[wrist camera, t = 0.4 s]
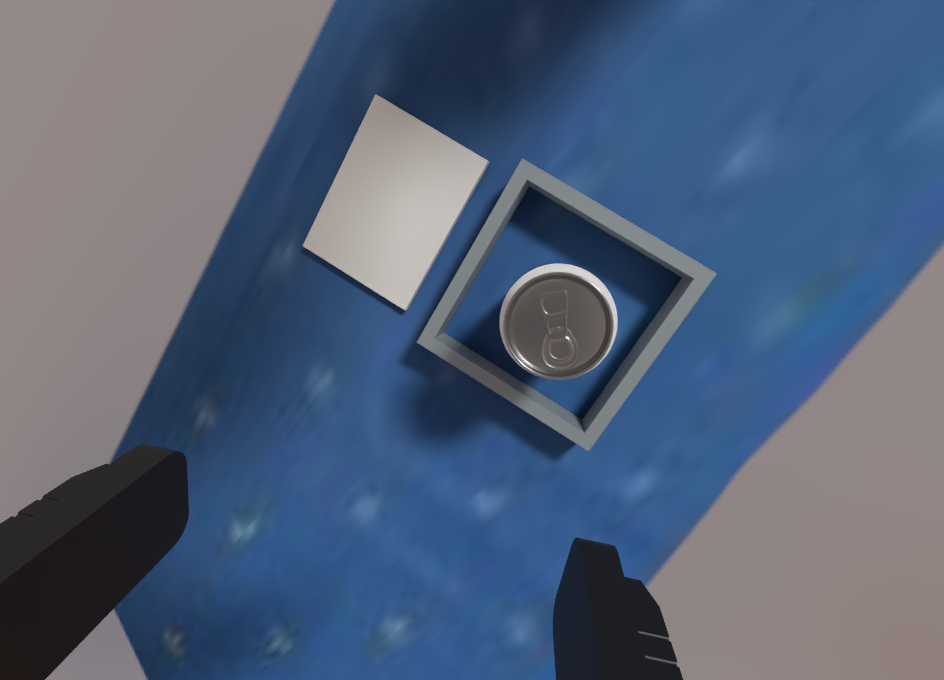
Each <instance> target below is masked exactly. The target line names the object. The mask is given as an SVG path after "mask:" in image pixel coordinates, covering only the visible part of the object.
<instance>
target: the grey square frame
mask: <svg viewBox="0 0 944 680" xmlns="http://www.w3.org/2000/svg"><path fill="white" fill-rule="evenodd" d="M529 187H531V188H533V189H534V190H536V191H538V192H539V193H541V194H543V195H544V196H546V197H548V198H549V199H551V200H553V201H554V202H556V203H558V204H559V205H561V206H563V207H565V208H566V209H568V210H570V211H571V212H573V213H575V214H576V215H578V216H580V217H581V218H583V219H585V220H586V221H588V222H590V223H591V224H593V225H595V226H596V227H598V228H600V229H601V230H603V231H605V232H607V233H608V234H610V235H612V236H613V237H615V238H617V239H618V240H620V241H622V242H623V243H625V244H627V245H628V246H630V247H632V248H633V249H635V250H637V251H638V252H640V253H642V254H643V255H645V256H647V257H648V258H650V259H652V260H654V261H655V262H657V263H659V264H660V265H662V266H664V267H665V268H667V269H669V270H670V271H672V272H674V273H675V274H677V275H679V276H680V277H682V279H681V280H680V281H679V283H678V284H677V286H676V287H675V288H674V290H673V291H672V293H671V294H670V296H669V297H668V298H667V300H666V301H665V303H664V304H663V306H662V307H661V308H660V310H659V311H658V313H657V314H656V315H655V317H654V318H653V320H652V321H651V323H650V324H649V325H648V327H647V328H646V330H645V331H644V333H643V334H642V335H641V337H640V338H639V340H638V341H637V342H636V344H635V345H634V347H633V348H632V350H631V351H630V352H629V354H628V355H627V357H626V358H625V360H624V361H623V362H622V364H621V365H620V367H619V368H618V370H617V371H616V372H615V374H614V375H613V377H612V378H611V379H610V381H609V382H608V384H607V385H606V387H605V388H604V389H603V391H602V392H601V394H600V395H599V397H598V398H597V399H596V401H595V402H594V404H593V405H592V406H591V408H590V409H589V411H588V412H587V414H586V415H585V416H584V418H583V419H580V418H579V417H577V416H575V415H574V414H572V413H571V412H569V411H568V410H566V409H564V408H563V407H561V406H560V405H558V404H556V403H555V402H553V401H552V400H550V399H548V398H547V397H545V396H544V395H542V394H540V393H539V392H537V391H536V390H534V389H533V388H531V387H529V386H528V385H526V384H525V383H523V382H521V381H520V380H518V379H517V378H515V377H513V376H512V375H510V374H509V373H507V372H505V371H504V370H502V369H501V368H499V367H498V366H496V365H494V364H493V363H491V362H490V361H488V360H486V359H485V358H483V357H482V356H480V355H478V354H477V353H475V352H474V351H472V350H471V349H469V348H467V347H466V346H464V345H463V344H461V343H459V342H458V341H456V340H455V339H453V338H451V337H450V336H448V335H447V334H445V333H444V331H445V330H446V328H447V326H448V324H449V323H450V321H451V319H452V318H453V316H454V314H455V313H456V311H457V309H458V307H459V306H460V304H461V302H462V301H463V299H464V297H465V295H466V294H467V292H468V290H469V289H470V287H471V285H472V284H473V282H474V280H475V278H476V277H477V275H478V273H479V272H480V270H481V268H482V266H483V265H484V263H485V261H486V260H487V258H488V256H489V255H490V253H491V251H492V249H493V248H494V246H495V244H496V243H497V241H498V239H499V238H500V236H501V234H502V232H503V231H504V229H505V227H506V226H507V224H508V222H509V220H510V219H511V217H512V215H513V214H514V212H515V210H516V209H517V207H518V205H519V203H520V202H521V200H522V198H523V197H524V195H525V193H526V192H527V190H528V188H529ZM716 274H717V273H715V272H713V271H712V270H710V269H708V268H707V267H705V266H703V265H702V264H700V263H698V262H697V261H695V260H693V259H692V258H690V257H688V256H686V255H685V254H683V253H681V252H680V251H678V250H676V249H675V248H673V247H671V246H670V245H668V244H666V243H664V242H663V241H661V240H659V239H658V238H656V237H654V236H653V235H651V234H649V233H648V232H646V231H644V230H642V229H641V228H639V227H637V226H636V225H634V224H632V223H631V222H629V221H627V220H626V219H624V218H622V217H620V216H619V215H617V214H615V213H614V212H612V211H610V210H609V209H607V208H605V207H604V206H602V205H600V204H599V203H597V202H595V201H593V200H592V199H590V198H588V197H587V196H585V195H583V194H582V193H580V192H578V191H577V190H575V189H573V188H571V187H570V186H568V185H566V184H565V183H563V182H561V181H560V180H558V179H556V178H555V177H553V176H551V175H549V174H548V173H546V172H544V171H543V170H541V169H539V168H538V167H536V166H534V165H533V164H531V163H529V162H527V161H526V160H524V159H522V160H521V161H520V163H519V165H518V167H517V168H516V170H515V172H514V174H513V175H512V177H511V179H510V181H509V182H508V184H507V186H506V188H505V189H504V191H503V193H502V195H501V196H500V198H499V200H498V202H497V203H496V205H495V207H494V208H493V210H492V212H491V214H490V215H489V217H488V219H487V221H486V222H485V224H484V226H483V228H482V229H481V231H480V233H479V235H478V236H477V238H476V240H475V242H474V243H473V245H472V247H471V249H470V250H469V252H468V254H467V256H466V257H465V259H464V261H463V262H462V264H461V266H460V268H459V269H458V271H457V273H456V275H455V276H454V278H453V280H452V282H451V283H450V285H449V287H448V289H447V290H446V292H445V294H444V296H443V297H442V299H441V301H440V303H439V304H438V306H437V308H436V309H435V311H434V313H433V315H432V316H431V318H430V320H429V322H428V323H427V325H426V327H425V329H424V330H423V332H422V334H421V336H420V337H419V339H418V341H417V343H418V344H420V345H422V346H423V347H425V348H426V349H428V350H429V351H431V352H433V353H434V354H436V355H437V356H439V357H440V358H442V359H444V360H445V361H447V362H448V363H450V364H452V365H453V366H455V367H456V368H458V369H459V370H461V371H463V372H464V373H466V374H467V375H469V376H470V377H472V378H474V379H475V380H477V381H478V382H480V383H482V384H483V385H485V386H486V387H488V388H489V389H491V390H493V391H494V392H496V393H497V394H499V395H500V396H502V397H504V398H505V399H507V400H508V401H510V402H511V403H513V404H515V405H516V406H518V407H519V408H521V409H523V410H524V411H526V412H527V413H529V414H530V415H532V416H534V417H535V418H537V419H538V420H540V421H541V422H543V423H545V424H546V425H548V426H549V427H551V428H553V429H554V430H556V431H557V432H559V433H560V434H562V435H564V436H565V437H567V438H568V439H570V440H571V441H573V442H575V443H576V444H578V445H579V446H581V447H583V448H584V449H586V450H587V451H589V450H590V449H591V447H592V446H593V445H594V443H595V442H596V440H597V439H598V438H599V436H600V435H601V434H602V432H603V431H604V429H605V428H606V427H607V425H608V424H609V422H610V421H611V420H612V418H613V417H614V416H615V414H616V413H617V411H618V410H619V409H620V407H621V406H622V404H623V403H624V402H625V400H626V399H627V398H628V396H629V395H630V393H631V392H632V391H633V389H634V388H635V386H636V385H637V384H638V382H639V381H640V379H641V378H642V377H643V375H644V374H645V373H646V371H647V370H648V368H649V367H650V366H651V364H652V363H653V361H654V360H655V359H656V357H657V356H658V355H659V353H660V352H661V350H662V349H663V348H664V346H665V345H666V343H667V342H668V341H669V339H670V338H671V337H672V335H673V334H674V332H675V331H676V330H677V328H678V327H679V325H680V324H681V323H682V321H683V320H684V319H685V317H686V316H687V314H688V313H689V312H690V310H691V309H692V307H693V306H694V305H695V303H696V302H697V300H698V299H699V298H700V296H701V295H702V294H703V292H704V291H705V289H706V288H707V287H708V285H709V284H710V282H711V281H712V280H713V278H714V277H715V276H716Z"/></svg>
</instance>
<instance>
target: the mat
mask: <svg viewBox="0 0 944 680" xmlns="http://www.w3.org/2000/svg"><path fill="white" fill-rule="evenodd" d="M488 165H489V161H487V160H486V159H484V158H482V157H481V156H479V155H477V154H476V153H474V152H472V151H471V150H469V149H467V148H466V147H464V146H462V145H461V144H459V143H457V142H455V141H454V140H452V139H450V138H449V137H447V136H445V135H444V134H442V133H440V132H439V131H437V130H435V129H434V128H432V127H430V126H429V125H427V124H425V123H424V122H422V121H420V120H419V119H417V118H415V117H413V116H412V115H410V114H408V113H407V112H405V111H403V110H402V109H400V108H398V107H397V106H395V105H393V104H392V103H390V102H388V101H387V100H385V99H383V98H382V97H380V96H378V95H376V94H375V96H374V98H373V100H372V103H371V105H370V107H369V109H368V111H367V113H366V115H365V117H364V119H363V121H362V123H361V125H360V128H359V130H358V132H357V134H356V136H355V138H354V140H353V142H352V144H351V146H350V148H349V150H348V153H347V155H346V157H345V159H344V161H343V163H342V165H341V167H340V169H339V171H338V173H337V175H336V178H335V180H334V182H333V184H332V186H331V188H330V190H329V192H328V194H327V196H326V198H325V200H324V203H323V205H322V207H321V209H320V211H319V213H318V215H317V217H316V219H315V221H314V223H313V225H312V228H311V230H310V232H309V234H308V236H307V238H306V240H305V242H304V244H303V247H305V248H307V249H308V250H310V251H311V252H313V253H314V254H316V255H318V256H319V257H321V258H322V259H324V260H326V261H327V262H329V263H330V264H332V265H334V266H335V267H337V268H338V269H340V270H341V271H343V272H345V273H346V274H348V275H349V276H351V277H353V278H354V279H356V280H357V281H359V282H361V283H362V284H364V285H365V286H367V287H369V288H370V289H372V290H373V291H375V292H376V293H378V294H380V295H381V296H383V297H384V298H386V299H388V300H389V301H391V302H392V303H394V304H396V305H397V306H399V307H400V308H402V309H403V310H408V308H409V306H410V304H411V303H412V301H413V299H414V297H415V296H416V294H417V292H418V290H419V288H420V287H421V285H422V283H423V281H424V279H425V278H426V276H427V274H428V272H429V270H430V269H431V267H432V265H433V263H434V261H435V260H436V258H437V256H438V254H439V253H440V251H441V249H442V247H443V245H444V244H445V242H446V240H447V238H448V236H449V235H450V233H451V231H452V229H453V227H454V226H455V224H456V222H457V220H458V218H459V217H460V215H461V213H462V211H463V210H464V208H465V206H466V204H467V202H468V201H469V199H470V197H471V195H472V193H473V192H474V190H475V188H476V186H477V184H478V183H479V181H480V179H481V177H482V175H483V174H484V172H485V170H486V168H487V167H488Z"/></svg>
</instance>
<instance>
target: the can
mask: <svg viewBox="0 0 944 680" xmlns="http://www.w3.org/2000/svg"><path fill="white" fill-rule="evenodd" d="M616 332H617V311H616V307H615V303H614V301H613V298H612V296H611V294H610V292H609V291H608V289H607V288H606V287H605V285H604V284H603V283H602V282H601V281H600V280H599V279H598V278H597V277H596V276H594V275H593V274H591V273H590V272H588V271H586V270H584V269H582V268H580V267H577V266H573V265H569V264H548V265H544V266H541V267H538V268H535V269H533V270H531V271H529V272H528V273H526V274H525V275H523V276H522V277H521V278H520V279H519V280H517V281H516V282H515V284H514V285H513V286H512V287H511V288H510V290H509V291H508V293H507V295H506V297H505V299H504V301H503V304H502V307H501V312H500V333H501V337H502V341H503V343H504V346H505V348H506V350H507V351H508V353H509V354H510V356H511V357H512V358H513V360H514V361H515V362H516V363H517V364H518V365H519V366H521V367H522V368H523V369H525V370H526V371H528V372H530V373H532V374H534V375H536V376H539V377H542V378H546V379H553V380H563V379H570V378H574V377H577V376H580V375H582V374H585V373H587V372H588V371H590V370H592V369H593V368H594V367H596V366H597V365H598V364H599V363H600V362H601V361H602V360H603V359H604V358H605V356H606V355H607V354H608V352H609V351H610V349H611V347H612V345H613V342H614V340H615V336H616Z"/></svg>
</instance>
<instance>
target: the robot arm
mask: <svg viewBox="0 0 944 680" xmlns="http://www.w3.org/2000/svg"><path fill="white" fill-rule="evenodd" d="M188 516H189V505H188V481H187V461H186V457H185V455H184V454H183V453H181V452H178V451H174V450H169V449H164V448H160V447H155V446H150V445H139V446H137V447H135V448H133V449H132V450H130V451H129V452H128V453H126V454H125V455H123V456H122V457H120V458H119V459H117V460H116V461H114V462H113V463H111V464H110V465H108V464H104V465H102V466H99V467H97V468H94V469H92V470H89V471H87V472H84V473H82V474H79V475H77V476H74V477H72V478H70V479H69V480H67V481H65V482H64V483H62V484H61V485H59V486H58V487H57V488H55V489H53V490H52V491H50V492H48V493H47V494H45V495H44V496H43V498H42V499H41V500H40V501H39V500H36V501H35V502H33V503H32V504H30V505H28V506H27V507H25V508H24V509H22V510H21V511H19V512H18V515H17V516H16V517H12V516H11V517H10V518H8V519H7V520H5V521H4V522H2V523H1V524H0V680H45V679H46V678H47V677H48V676H49V675H50V674H51V673H52V672H53V671H54V670H55V669H56V668H57V667H58V666H59V664H60V663H61V662H62V661H63V660H64V659H65V658H66V657H67V656H68V655H69V654H70V653H71V652H72V651H73V650H74V649H75V648H76V647H77V646H78V645H79V644H80V643H81V642H82V641H83V640H84V639H85V637H86V636H88V634H89V633H90V632H91V631H92V630H93V629H94V628H95V627H96V626H97V625H98V624H99V623H100V622H101V621H102V620H103V619H104V618H105V617H106V616H107V615H108V614H109V612H111V611H112V610H113V609H114V608H115V607H116V606H117V604H118V603H119V602H120V601H121V600H122V599H123V598H124V597H125V596H126V595H127V594H128V593H129V592H130V591H131V590H132V589H133V588H134V587H135V586H136V585H137V584H138V583H139V582H140V581H141V580H142V579H143V578H144V577H145V575H146V574H147V573H148V572H149V571H150V570H151V569H152V568H153V567H154V566H155V565H156V564H157V563H158V562H159V561H160V560H161V559H162V558H163V557H164V556H165V555H166V554H167V553H168V552H169V551H170V550H171V549H172V548H173V546H174V545H175V544H176V543H177V542H178V540H179V539H180V537H181V535H182V533H183V532H184V529H185V527H186V524H187V521H188ZM668 638H669V635H668V632H667V628H666V625H665V622H664V619H663V616H662V613H661V610H660V607H659V606H658V604H657V603H656V601H655V600H654V599H653V597H652V596H651V594H650V593H649V592H648V590H647V589H646V587H645V586H644V585H643V583H642V582H641V581H640V580H635V579H631V578H626V577H624V574H623V570H622V567H621V563H620V559H619V555H618V552H617V549H616V547H615V546H613V545H609V544H604V543H600V542H595V541H590V540H586V539H581V538H575V539H574V541H573V543H572V546H571V549H570V552H569V556H568V559H567V562H566V565H565V569H564V572H563V575H562V578H561V582H560V585H559V588H558V592H557V595H556V599H555V605H554V613H553V640H554V655H555V669H556V680H683V678H682V675H681V672H680V668H679V667H677V659H676V656H675V653H674V650H673V647H672V644H671V642H670V641H669V639H668Z"/></svg>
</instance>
